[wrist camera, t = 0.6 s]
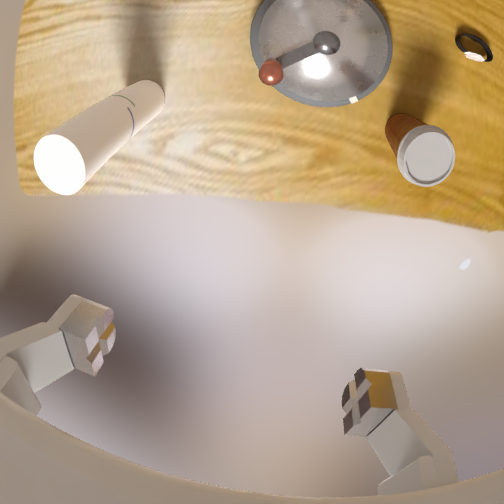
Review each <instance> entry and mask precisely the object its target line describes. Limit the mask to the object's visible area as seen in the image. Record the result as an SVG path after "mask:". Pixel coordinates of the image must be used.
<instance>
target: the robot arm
mask: <svg viewBox="0 0 504 504" xmlns="http://www.w3.org/2000/svg"><path fill="white" fill-rule="evenodd" d="M113 318H114V315H113V310H112V309H110V308H108V307H106V306H103V305H100V304H98V303H95V302H93V301H90V300H88V299H85V298H82V297H80V296H77V295H75V294H74V295H71V296H70V297H69V298H68V299H67V300H66V301H65V302H64V303H63V305H62V306H61V307H60V308H59V309H58V310H57V312H56V313H55V314H54V315H53V316H52V317H51V318H50V320H49V321H48V322H47V323H44V322H42V323H39V324H36V325H34V326H31V327H29V328H26V329H23V330H21V331H18V332H15V333H13V334H10V335H7V336H5V337H2V338H0V504H504V468H503V469H500V470H497V471H495V472H492V473H488V474H485V475H482V476H479V477H476V478H472V479H468V480H465V481H461V482H459V480H458V475H457V470H456V465H455V461H454V457H453V453H452V451H451V450H450V448H448V446H447V445H446V444H445V443H444V442H443V441H442V440H441V439H440V438H439V436H438V435H437V434H436V433H435V432H434V431H433V430H432V429H431V427H430V426H429V425H428V424H427V423H426V422H425V421H424V420H423V419H422V418H421V416H420V415H419V414H418V413H417V412H416V411H415V410H411V407H410V403H409V399H408V395H407V391H406V388H405V384H404V381H403V377H402V374H401V373H400V372H392V371H384V370H375V369H366V368H360V369H359V370H357V372H356V373H355V374H354V376H355V380H353V381H351V382H349V383H348V384H347V386H346V387H345V389H344V392H343V396H342V408H343V410H344V411H345V412H346V413H347V414H346V416H345V417H344V418H343V423H344V435H350V436H363V437H366V438H367V440H368V442H369V443H370V445H371V447H372V448H373V450H374V451H375V453H376V454H377V456H378V458H379V459H380V461H381V462H382V464H383V466H384V467H385V469H386V470H387V472H388V474H389V475H390V477H389V478H387V479H386V480H384V481H382V482H381V483H380V484H379V485H378V496H366V497H340V498H320V497H296V496H282V495H273V494H264V493H256V492H249V491H242V490H236V489H230V488H224V487H220V486H215V485H210V484H206V483H201V482H197V481H193V480H189V479H185V478H181V477H178V476H174V475H171V474H167V473H164V472H161V471H157V470H154V469H151V468H148V467H145V466H142V465H140V464H137V463H134V462H131V461H128V460H126V459H123V458H120V457H118V456H116V455H113V454H111V453H108V452H106V451H104V450H101V449H99V448H97V447H94V446H92V445H90V444H88V443H86V442H84V441H82V440H80V439H77V438H76V437H74V436H72V435H70V434H68V433H66V432H64V431H62V430H60V429H58V428H56V427H55V426H53V425H51V424H49V423H47V422H46V421H44V420H42V419H41V418H39V417H37V414H38V412H39V411H40V409H41V404H40V402H39V400H38V399H37V397H36V395H35V394H34V393H35V392H36V391H38V390H40V389H41V388H43V387H45V386H46V385H48V384H50V383H52V382H53V381H55V380H57V379H58V378H60V377H62V376H63V375H65V374H66V373H68V372H70V371H72V370H73V369H74V368H76V369H78V370H81V371H83V372H86V373H88V374H90V375H93V376H96V374H97V372H98V370H99V369H100V367H101V366H102V364H103V357H102V356H103V355H105V354H107V353H109V352H110V350H111V349H112V347H113V344H114V341H115V335H116V332H115V326H114V325H113V324H112V322H111V321H112V319H113Z"/></svg>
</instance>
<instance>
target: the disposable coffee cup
mask: <svg viewBox="0 0 504 504" xmlns="http://www.w3.org/2000/svg"><path fill="white" fill-rule="evenodd" d="M385 134H386V137H387V139H388V141H389V143H390V145H391V148H392V150H393V152H394V154H395V156H396V158H397V163H398V167H399V170H400V172H401V174H402V175H403V176H404V177H405V179H407V180H408V181H409V182H411V183H413V184H416V185H419V186H424V187H428V186H434V185H437V184H439V183H440V182H442V181H443V180H444V179H445V178H447V177H448V175H449V174H450V172H451V171H452V168H453V166H454V163H455V151H454V147H453V143H452V141H451V139H450V137H449V136H448V134H447V133H446V132H445V131H443V130H442V129H440V128H439V127H436V126H432V125H428V124H426V123H424V122H422V121H420V120H418V119H415V118H413V117H411V116H409V115H407V114H397V115H394V116H393V117H391V118H390V119H389V121H388V122H387V124H386V127H385Z"/></svg>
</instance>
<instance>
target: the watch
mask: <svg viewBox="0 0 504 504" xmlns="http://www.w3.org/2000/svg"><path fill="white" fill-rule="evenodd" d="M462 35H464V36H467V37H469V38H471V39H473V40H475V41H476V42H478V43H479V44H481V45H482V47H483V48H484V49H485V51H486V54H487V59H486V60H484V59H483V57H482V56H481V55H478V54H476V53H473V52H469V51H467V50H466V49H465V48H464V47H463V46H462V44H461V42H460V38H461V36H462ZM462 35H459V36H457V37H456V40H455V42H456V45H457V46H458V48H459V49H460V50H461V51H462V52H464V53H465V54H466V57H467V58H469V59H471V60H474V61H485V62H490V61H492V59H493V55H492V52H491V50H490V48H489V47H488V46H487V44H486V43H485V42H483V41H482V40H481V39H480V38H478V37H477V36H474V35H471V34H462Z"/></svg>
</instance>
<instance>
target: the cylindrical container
mask: <svg viewBox="0 0 504 504" xmlns="http://www.w3.org/2000/svg"><path fill="white" fill-rule="evenodd" d="M164 104H165V95H164V92H163V90H162V88H161V87H160V86H159V85H158V84H157V83H155V82H153V81H150V80H141V81H138V82H136V83H134V84H132V85H130V86H128V87H126V88H124V89H122V90H120V91H118V92H116V93H114V94H112V95H111V96H109V97H107V98H105V99H103V100H101V101H100V102H98V103H96V104H94V105H93V106H91V107H89V108H88V109H86V110H84V111H82V112H81V113H79V114H78V115H76V116H74V117H73V118H71V119H70V120H68V121H67V122H65V123H63V124H62V125H60V126H59V127H57V128H56V129H54V130H53V131H52V132H50V133H49V134H47V135H46V136H44V137H43V138H42V139H41V140H40V141H39V142H38V143H37V145H36V148H35V151H34V164H35V169H36V171H37V174H38V176H39V178H40V179H41V181H42V182H43V183H44V184H45V185H46V186H47V187H48V188H49V189H50V190H52V191H54V192H55V193H58V194H61V195H71V194H74V193H76V192H77V191H79V190H80V188H81V187H82V186H83V185H84V184H85V183H86V182H87V181H88V180H89V179H90V178H91V177H92V176H93V175H94V174H95V172H96V171H97V170H98V169H99V168H100V167H101V166H102V165H103V164H104V163H105V162H106V161H107V160H108V159H109V158H110V157H111V156H112V155H113V154H114V153H115V152H116V151H118V150H119V149H120V148H121V147H122V146H123V145H124V144H125V143H126V142H127V141H128V140H129V139H130V138H131V137H133V136H134V135H135V134H136V133H137V132H138V131H139V130H140V129H142V128H143V127H144V126H145V125H146V124H147V123H148V122H150V121H151V120H152V119H153V118H154V117H155V116H157V115H158V114H159V113H160V112H161V111H162V109H163V107H164Z"/></svg>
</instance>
